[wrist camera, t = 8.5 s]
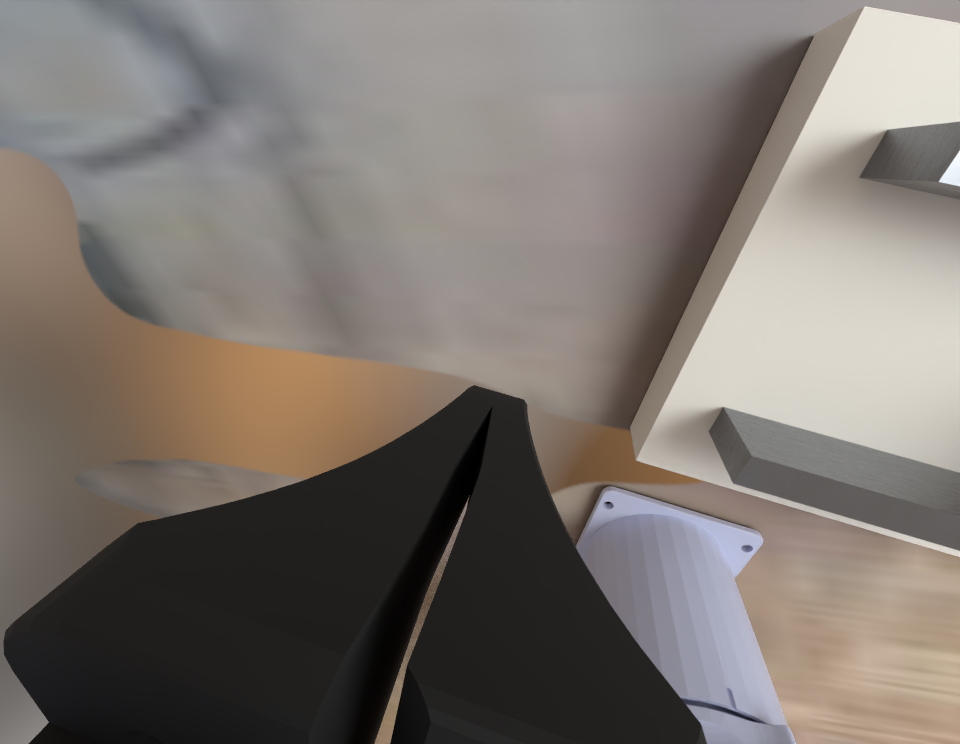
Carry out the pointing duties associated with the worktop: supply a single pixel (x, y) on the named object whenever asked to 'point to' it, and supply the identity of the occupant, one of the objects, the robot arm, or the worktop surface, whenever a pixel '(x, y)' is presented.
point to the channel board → (829, 273)
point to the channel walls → (841, 464)
